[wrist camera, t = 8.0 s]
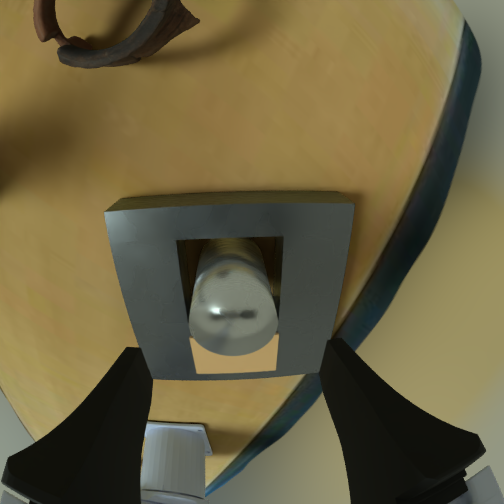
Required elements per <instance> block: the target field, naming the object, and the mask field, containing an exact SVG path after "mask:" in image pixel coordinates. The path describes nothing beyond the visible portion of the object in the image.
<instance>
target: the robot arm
mask: <svg viewBox="0 0 504 504" xmlns="http://www.w3.org/2000/svg"><path fill="white" fill-rule="evenodd" d="M319 376H320V380H321V385H322V390H323V394H324V397H325V400H326V403H327V406H328V408H329V411H330V414H331V417H332V420H333V422H334V425H335V428H336V431H337V434H338V436H339V439H340V443H341V446H342V451H343V456H344V460H345V465H346V471H347V477H348V483H349V491H350V499H351V504H504V498H503V495H502V493H501V490H500V488H499V486H498V483H497V481H496V479H495V477H494V474H493V472H492V470H491V468H490V466H486V467H485V468H484V469H482V470H481V471H479V472H478V473H477V474H475V475H474V476H472V477H471V478H470V479H468V480H467V481H465V480H464V478H463V477H465V476H466V475H467V473H466V471H465V468H467V467H468V466H469V465H471V464H472V463H473V462H475V461H476V460H477V459H479V458H480V457H481V456H482V455H483V454H484V453H485V452H486V449H485V447H484V445H483V444H482V442H481V440H480V438H479V436H478V435H477V434H475V433H472V432H468V431H466V430H463V429H460V428H457V427H455V426H452V425H450V424H448V423H446V422H444V421H442V420H440V419H438V418H436V417H434V416H432V415H431V414H429V413H427V412H425V411H423V410H422V409H420V408H419V407H417V406H416V405H414V404H412V403H411V402H410V401H409V400H407V399H405V398H404V397H403V396H402V395H400V394H399V393H398V392H396V391H395V390H394V389H393V388H392V387H391V386H389V385H388V384H387V383H386V382H385V381H384V380H383V379H381V378H380V377H379V376H378V375H377V374H376V373H375V372H374V371H373V370H372V369H371V368H370V367H369V366H368V365H367V364H366V363H365V362H364V361H363V360H362V359H361V358H360V357H359V356H358V355H357V354H356V353H355V352H354V351H353V349H352V348H351V347H350V346H349V345H348V344H347V343H346V342H345V341H344V340H343V339H342V338H339V339H331V340H327V343H326V347H325V351H324V355H323V359H322V363H321V367H320V371H319ZM152 388H153V378H152V376H151V373H150V371H149V368H148V366H147V363H146V360H145V358H144V355H143V352H142V349H141V348H137V347H126V348H125V350H124V351H123V352H122V353H121V355H120V356H119V357H118V359H117V360H116V361H115V363H114V364H113V365H112V367H111V368H110V369H109V370H108V372H107V373H106V374H105V376H104V377H103V378H102V379H101V381H100V382H99V383H98V384H97V386H96V387H95V388H94V389H93V390H92V392H91V393H90V394H89V395H88V396H87V397H86V399H85V400H84V401H83V402H82V403H81V404H80V405H79V406H78V407H77V408H76V409H75V410H74V411H73V412H72V413H71V414H70V415H69V416H68V417H67V418H66V419H65V420H64V421H63V422H62V423H60V424H59V425H58V426H57V427H56V428H54V429H53V430H52V431H51V432H50V433H48V434H47V435H46V436H44V437H43V438H41V439H40V440H38V441H37V442H35V443H34V444H32V445H31V446H29V447H27V448H25V449H24V450H22V451H20V452H18V453H16V454H14V455H12V456H10V457H8V459H7V462H6V466H5V469H4V472H3V477H2V480H1V482H2V484H4V485H5V486H7V487H8V488H10V489H11V490H13V491H15V492H17V493H18V494H20V495H22V496H24V497H25V498H27V499H29V500H30V502H29V504H209V500H205V456H211V455H212V450H211V447H210V443H209V440H208V437H207V434H206V431H205V428H204V426H203V425H201V424H177V423H161V422H150V421H147V420H148V415H149V411H150V406H151V399H152ZM144 436H145V438H146V441H145V448H144V455H143V463H142V471H141V453H142V446H143V441H144ZM140 473H141V480H140ZM0 504H27V503H26V502H24V501H22V500H20V499H18V498H17V497H15V496H13V495H12V494H10V493H8V492H6V491H3V494H2V499H1V503H0Z"/></svg>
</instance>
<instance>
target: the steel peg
mask: <svg viewBox="0 0 504 504" xmlns="http://www.w3.org/2000/svg"><path fill="white" fill-rule="evenodd" d="M277 327H278V318H277V313H276V309H275V305H274V301H273V297H272V293H271V289H270V285H269V281H268V277H267V273H266V269H265V265H264V261H263V257H262V253H261V250H260V248H259V247H258V245H257V244H256V243H255V242H254V241H253V240H252V239H250V238H248V237H239V238H212V239H211V240H209V241H208V242H207V243H206V244H205V246H204V247H203V249H202V251H201V253H200V257H199V262H198V268H197V273H196V279H195V285H194V291H193V297H192V303H191V309H190V315H189V329H190V332H191V335H192V336H193V338H194V339H195V341H196V342H197V343H198V344H199V345H200V346H202V347H203V348H205V349H206V350H208V351H210V352H213V353H216V354H219V355H224V356H241V355H246V354H250V353H253V352H255V351H257V350H259V349H261V348H263V347H264V346H265V345H267V344H268V343H269V342H270V341H271V339H272V338H273V337H274V335H275V333H276V330H277Z"/></svg>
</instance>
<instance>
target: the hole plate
mask: <svg viewBox="0 0 504 504" xmlns="http://www.w3.org/2000/svg"><path fill="white" fill-rule="evenodd" d="M354 208H355V203H353V202H352V201H351V200H349V199H348V198H346V197H345V196H344V195H342V194H341V193H339V192H332V191H237V192H209V193H189V194H172V195H158V196H145V197H134V198H123V199H119V200H118V201H117V202H116V203H114V204H113V205H112V206H111V207H109V208H108V209H107V210H106V211H105V212H104V215H105V221H106V226H107V231H108V236H109V241H110V246H111V251H112V255H113V259H114V264H115V268H116V272H117V276H118V280H119V283H120V287H121V291H122V294H123V298H124V301H125V305H126V308H127V311H128V315H129V318H130V321H131V324H132V327H133V330H134V333H135V336H136V339H137V342H138V345H139V348H141V349H142V352H143V355H144V358H145V360H146V363H147V366H148V368H149V371H150V373H151V376H152V378H153V379H161V380H239V379H257V378H270V377H281V376H291V375H300V374H308V373H316V372H319V371H320V367H321V363H322V359H323V355H324V351H325V347H326V343H327V340H330V339H331V335H332V331H333V327H334V323H335V318H336V314H337V309H338V304H339V300H340V295H341V290H342V285H343V279H344V274H345V268H346V263H347V257H348V251H349V244H350V238H351V231H352V224H353V216H354ZM270 236H275V261H274V283H273V296H272V297H273V301H274V305H275V309H276V313H277V318H278V327H277V330H276V333H275V335H274V337H273V338H272V339H271V341H270V342H269V343H268V344H267V345H265V346H264V347H263V348H261V349H259V350H257V351H255V352H253V353H250V354H246V355H241V356H224V355H219V354H216V353H213V352H210V351H208V350H206V349H205V348H203V347H202V346H200V345H199V344H198V343H197V342H196V341H195V339H194V338H193V336H192V335H191V332H190V329H189V315H190V309H191V303H192V297H191V289H190V282H189V274H188V266H187V258H186V249H185V240H186V239H211V238H239V237H270Z"/></svg>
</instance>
